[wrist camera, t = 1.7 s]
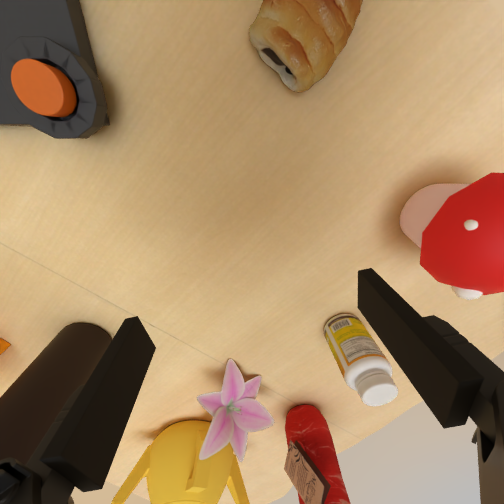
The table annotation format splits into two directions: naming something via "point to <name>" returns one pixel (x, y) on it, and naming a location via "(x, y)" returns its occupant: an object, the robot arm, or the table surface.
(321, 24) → the pastry
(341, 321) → the supplement bottle
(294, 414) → the water bottle
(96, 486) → the robot arm
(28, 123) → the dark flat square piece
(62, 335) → the vinegar
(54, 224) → the table surface
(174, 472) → the teapot
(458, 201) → the mushroom
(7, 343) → the orange juice
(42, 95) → the button
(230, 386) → the lily
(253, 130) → the table surface
